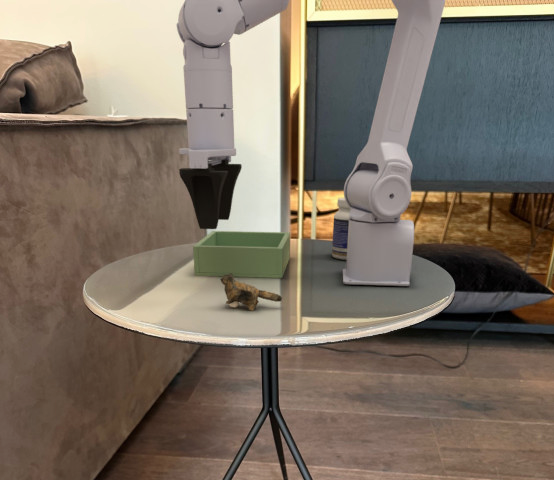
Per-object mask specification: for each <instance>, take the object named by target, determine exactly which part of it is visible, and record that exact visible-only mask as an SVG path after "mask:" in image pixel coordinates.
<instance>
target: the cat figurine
mask: <svg viewBox="0 0 554 480" xmlns="http://www.w3.org/2000/svg"><path fill="white" fill-rule="evenodd" d="M220 282H221V284H222V285H223V286H224V293H225V296H226V299H227V300H226V301H225V304H226V305H229V306H230V307H231V308H237V307H238V306H239V304H242V305H244V306H246V307H247V308H248V311H252V312H253V311H254V310H255V308H256V307H257V305H258V304H259V302H260V301H259V300H258V298H260V299H263V300H267V301H272V302H276V303H277V302H282V300H283V297H282V296H281V295H280V294H278V293H275V292H270V291H267V290H263V289H258V288H257V287H256V286H253V285H250V284H248V283H245V282H241V281H237V280H236V279H235V277H233V274H232V273H231V274H226V275H224V276H221V278H220Z"/></svg>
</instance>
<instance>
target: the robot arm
mask: <svg viewBox="0 0 554 480" xmlns="http://www.w3.org/2000/svg"><path fill="white" fill-rule="evenodd" d="M289 3H290V0H184V2H183V3H182V6H181V7H180V9H179V13H178V18H177V23H176V31H177V35H178V36H179V38H180V41H181V42H182V44H183V48H182V54H183V59H184V65H183V67H182V68H183V80H184V81H183V82H184V84H183V85H184V97H185V98H184V99H185V112H186V127H187V142H188V143H187V144H188V145H187V146H188V148H186V147H185V148H183V147H181V148H179V155H187V156H188V163H189V167H182V168H179V169H178V172H179V177H180V178H181V181H182V183H184V185H185V188H186V189H187V192H188V194H189V196H190V199H191V202H192V206H193V209H194V214H195V218H196V221H197V225H198V227H199V229H200V230H216V229H217V228H218V225H219V221H228V220H229V219H230V216H231V211H232V206H233V205H232V204H233V197H234V192H235V187H236V184H237V181H238V179H239V175H240V173H241V171H242V167H243V165H242V164H241V163H232V157H236V156H237V148H235V125H234V123H235V121H234V95H233V94H234V93H233V92H234V91H233V67H232V63H231V42H230V40H231V39H232V38H233V36H234V35H239V36H241V35H242V34H244V33H246V32H247V31H250V30H251V29H253V28H255V27H257V26H258V25H260V24H263V23H264V22H266V21H268V20H270V19H271V18H274V17H275V16H277V15H279V14H281V13H282V12H284V11H286V10H287V8H288V6H289ZM391 3H392V4H393V5H394V7H395V9H396V11H397V17H396V21H395V26H394V29H393V34H392V39H391V42H390V47H389V51H388V54H387V55H388V56H387V59H386V65H385V68H384V72H383V76H382V81H381V85H380V90H379V93H378V98H377V102H376V106H375V111H374V115H373V118H372V124H371V127H370V131H369V135H368V140H367V143H366V144H365V146H364V147H363V149H362V150H361V151H360V152H359V154H358V155H357V157H356V160H355V165H354V167H353V169H352V171H351V173H349V175H348V176H347V178H346V180H345V182H344V186H343V198H345V200H346V202H347V204H348V205H349V206H350V207H351V209H350V214H349V228H348V245H347V260H346V265H345V268H343V269H342V284H343V285H356V286H390V287H391V286H393V287H409V286H410V285H411V283H410V278H411V271H412V260H413V251H414V241H415V224H414V221H413V220H412V219H401V217H402V216H401V215H402V214H404V213H405V212H406V210H407V209H408V207H409V205H410V203H411V200H412V185H411V177H412V176H411V175H412V172H413V167H414V166H413V162H412V160H411V158H410V156H409V154H408V150H407V149H408V145H409V142H410V137H411V135H412V130H413V126H414V123H415V118H416V115H417V111H418V108H419V103H420V100H421V96H422V92H423V88H424V84H425V82H426V77H427V73H428V70H429V65H430V61H431V58H432V53H433V50H434V46H435V43H436V39H437V34H438V32H439V27H440V23H441V21H442V16H443V12H444V9H445V5H446V0H391Z"/></svg>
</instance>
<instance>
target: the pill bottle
mask: <svg viewBox="0 0 554 480" xmlns="http://www.w3.org/2000/svg"><path fill="white" fill-rule="evenodd" d="M336 206H337V207H338V210H337V211H336V212H335V213H334V215H333V224H332V225H333V226H332V243H331V255H332V257H333V258H334V259H338V260H341V261H347V245H348V228H349V214H350V209H351V207H350V206H349V205H348V204H347V202H346V200H345V197H339V198H337V205H336Z"/></svg>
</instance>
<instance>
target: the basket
mask: <svg viewBox="0 0 554 480" xmlns="http://www.w3.org/2000/svg"><path fill="white" fill-rule="evenodd" d="M290 248H291V233H290V232H289V231H288V232H285V231H281V232H280V231H279V232H278V231H240V230H239V231H238V230H237V231H235V230H233V231H232V230H212V231H211V232H209V233H208V234H207V235H205V236H204V237H203V238H201V239H200V240H199V241H198V242H196V244H194V245H193V246H192V252H193V268H194V269H193V271H194V276H199V277H200V276H201V277H203V276H204V277H223V276H224V275H226V274H231V273H232V274H233V277H234V278H269V279H283V277H284V274H285V272H286V269H287V267H288V264H289V261H290V258H291V256H290V255H291V254H290V253H291V249H290Z"/></svg>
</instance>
